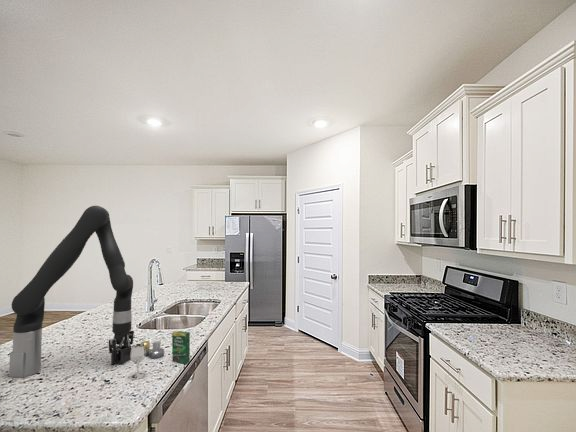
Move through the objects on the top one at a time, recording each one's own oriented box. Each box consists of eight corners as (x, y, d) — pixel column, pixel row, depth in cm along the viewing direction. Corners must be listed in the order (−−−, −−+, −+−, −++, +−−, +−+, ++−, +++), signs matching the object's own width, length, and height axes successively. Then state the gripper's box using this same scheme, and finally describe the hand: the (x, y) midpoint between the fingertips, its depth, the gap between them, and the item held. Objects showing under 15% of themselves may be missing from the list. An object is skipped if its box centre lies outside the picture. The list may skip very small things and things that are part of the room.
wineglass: (141, 371, 135) (141, 342, 135) (148, 375, 131) (148, 345, 132) (126, 376, 130) (127, 346, 131) (133, 381, 127) (134, 349, 127)
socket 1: (122, 364, 142) (123, 350, 142) (111, 363, 143) (111, 349, 143) (131, 359, 148) (131, 345, 148) (119, 358, 148) (120, 344, 149)
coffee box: (171, 361, 145) (171, 331, 146) (175, 359, 148) (176, 329, 148) (185, 364, 142) (185, 334, 142) (190, 362, 145) (190, 332, 145)
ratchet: (159, 359, 148) (159, 344, 148) (123, 356, 150) (123, 342, 151) (166, 354, 154) (166, 339, 154) (132, 351, 157) (132, 337, 157)
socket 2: (146, 352, 155) (146, 344, 155) (138, 352, 156) (138, 343, 156) (151, 349, 159) (151, 341, 159) (143, 349, 160) (143, 340, 160)
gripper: (118, 325, 138) (118, 366, 138) (139, 316, 152) (139, 353, 152) (102, 324, 139) (101, 364, 139) (125, 315, 154) (124, 352, 153)
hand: (121, 358), depth 145 cm, fingers open, 6 cm apart
